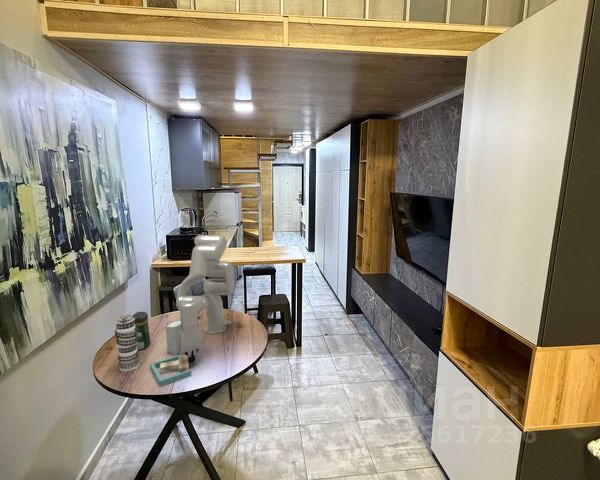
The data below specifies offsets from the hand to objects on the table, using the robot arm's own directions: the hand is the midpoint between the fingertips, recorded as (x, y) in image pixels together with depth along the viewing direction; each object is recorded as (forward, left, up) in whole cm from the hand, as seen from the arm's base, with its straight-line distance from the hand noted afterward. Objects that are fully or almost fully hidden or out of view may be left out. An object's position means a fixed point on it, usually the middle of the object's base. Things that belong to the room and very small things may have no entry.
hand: (191, 362), depth 155 cm
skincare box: (+1, -19, -2) cm, 19 cm away
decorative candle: (+24, -17, -1) cm, 30 cm away
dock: (+9, 0, -1) cm, 9 cm away
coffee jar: (+15, -35, -1) cm, 38 cm away
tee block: (+8, -2, -1) cm, 8 cm away
